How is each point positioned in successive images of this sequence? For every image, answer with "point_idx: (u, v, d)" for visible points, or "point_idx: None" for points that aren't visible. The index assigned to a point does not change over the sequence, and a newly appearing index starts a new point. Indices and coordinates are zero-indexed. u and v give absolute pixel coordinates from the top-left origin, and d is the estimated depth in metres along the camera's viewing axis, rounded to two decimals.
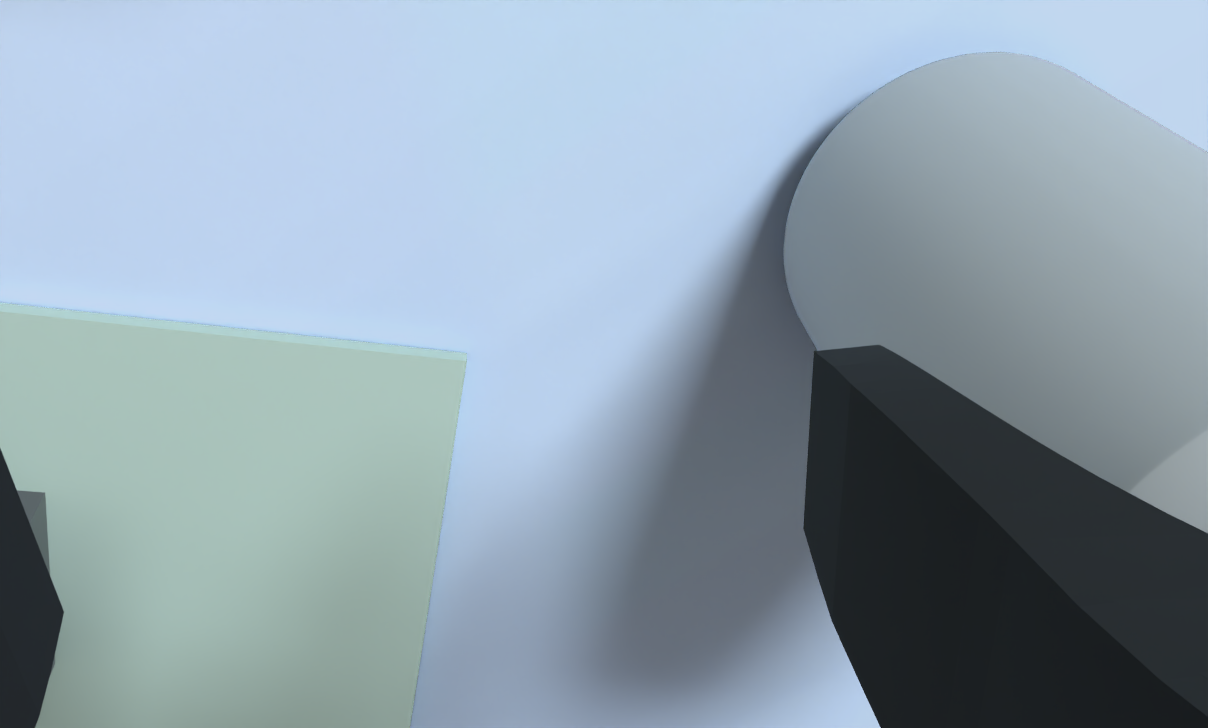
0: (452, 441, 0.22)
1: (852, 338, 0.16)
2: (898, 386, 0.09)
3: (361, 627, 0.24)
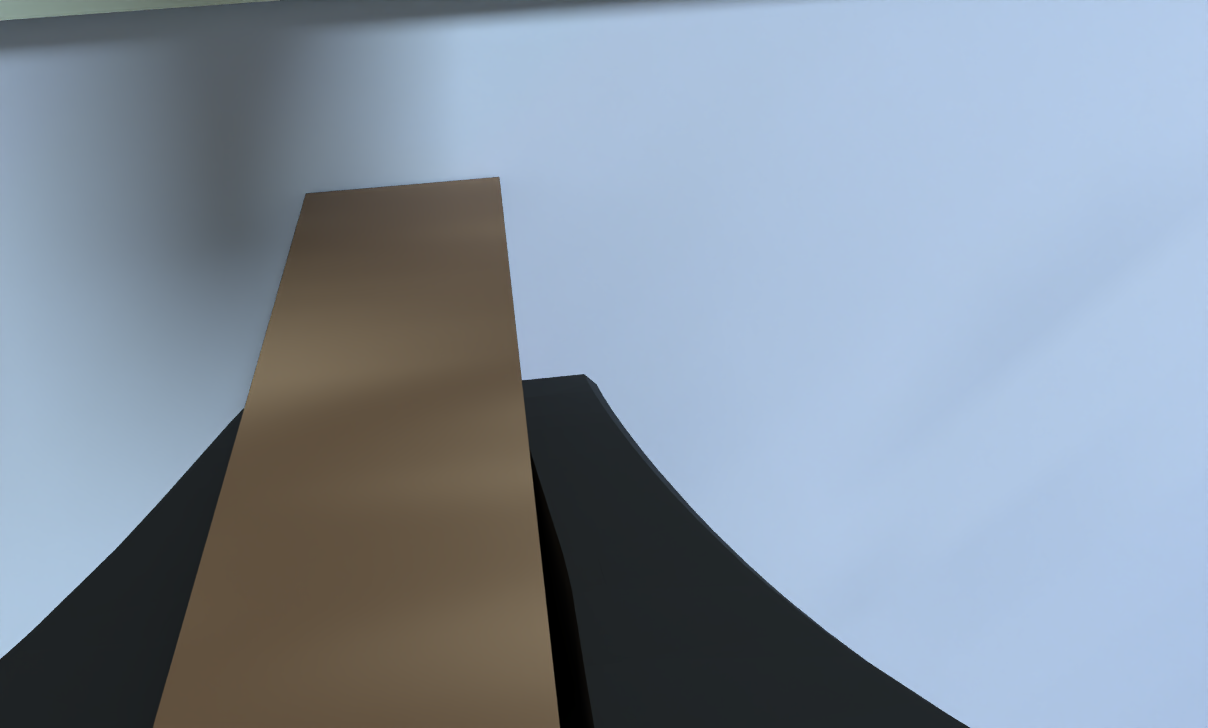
0: None
1: None
2: (564, 420, 0.09)
3: None
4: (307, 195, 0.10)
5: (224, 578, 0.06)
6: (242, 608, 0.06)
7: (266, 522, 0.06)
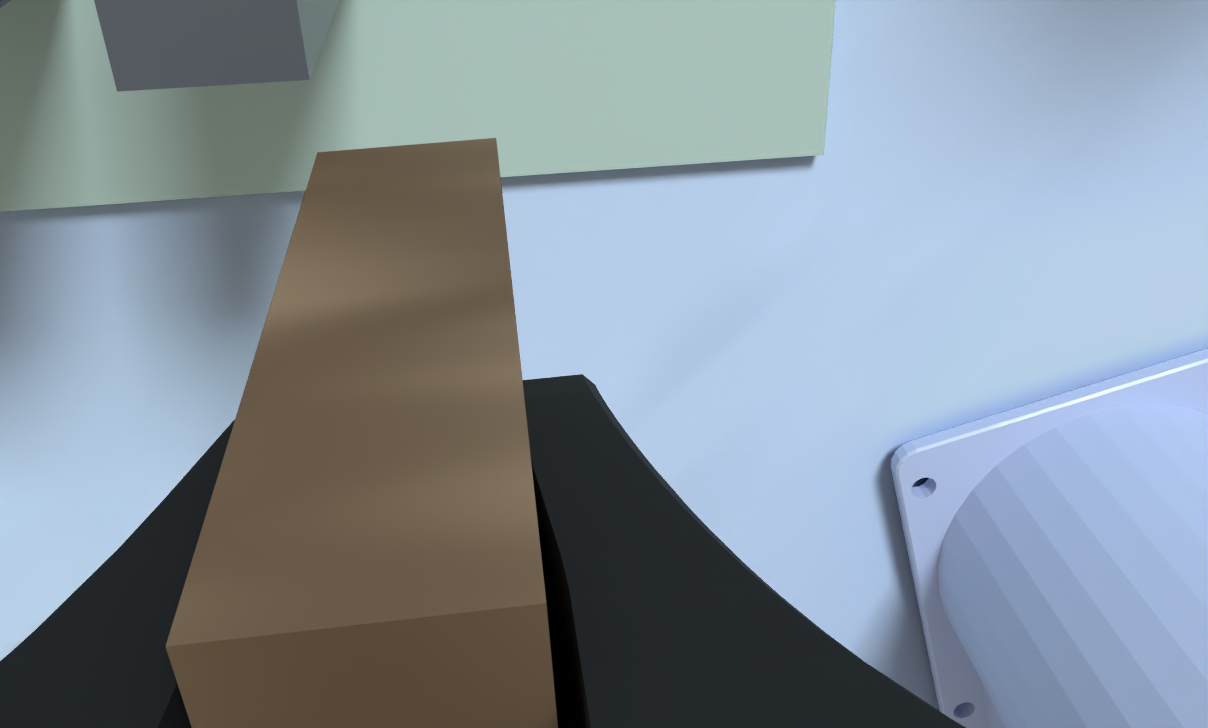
0: None
1: None
2: (562, 420, 0.09)
3: None
4: (319, 153, 0.11)
5: (250, 452, 0.07)
6: (267, 473, 0.06)
7: (286, 409, 0.07)
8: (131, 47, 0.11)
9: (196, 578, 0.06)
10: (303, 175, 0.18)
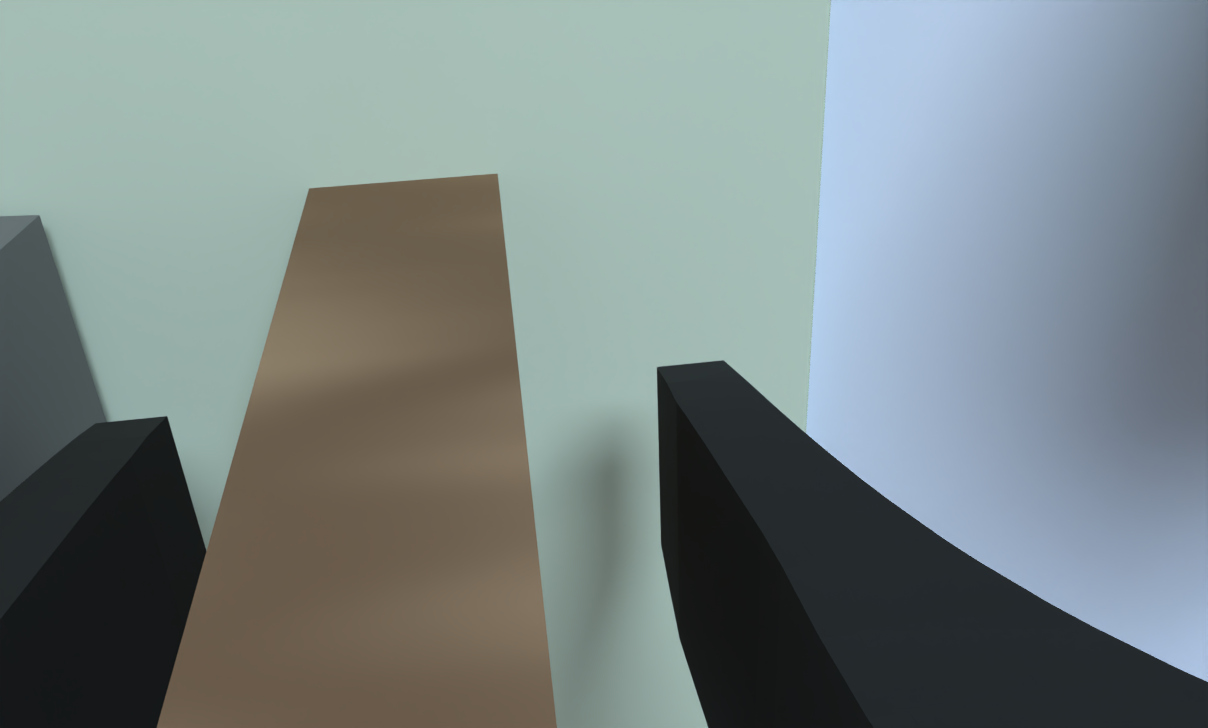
0: None
1: None
2: (722, 404, 0.09)
3: None
4: (310, 190, 0.11)
5: (234, 551, 0.06)
6: (251, 580, 0.06)
7: (273, 500, 0.07)
8: None
9: (171, 713, 0.05)
10: None
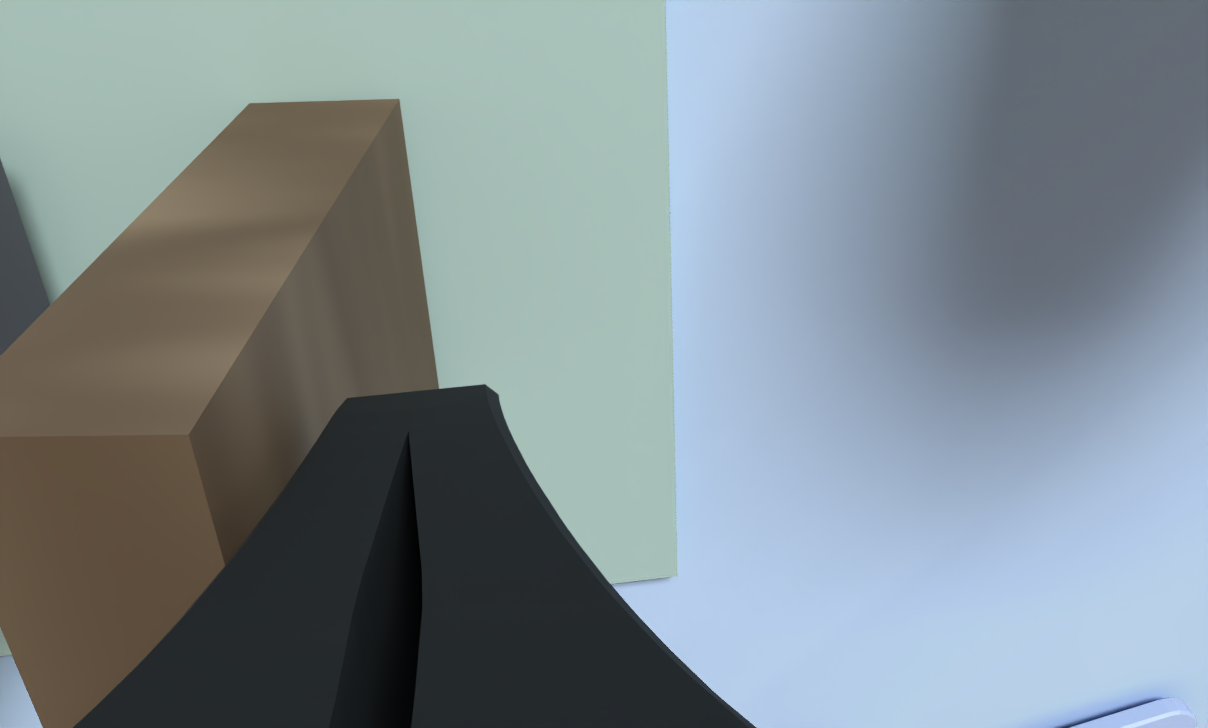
0: None
1: None
2: (452, 432, 0.09)
3: (573, 287, 0.15)
4: (249, 104, 0.13)
5: (55, 320, 0.09)
6: (57, 336, 0.09)
7: (98, 293, 0.09)
8: None
9: None
10: None
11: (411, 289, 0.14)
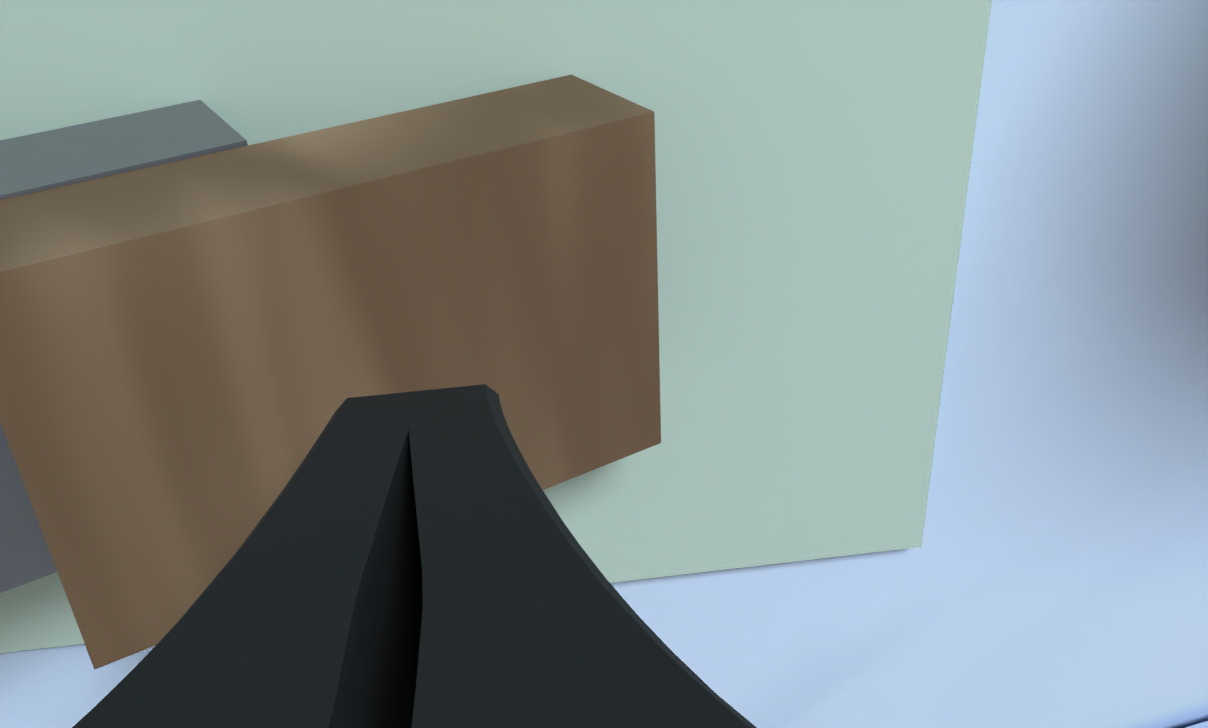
0: None
1: None
2: (452, 432, 0.09)
3: (865, 258, 0.15)
4: (567, 75, 0.14)
5: (112, 181, 0.11)
6: (86, 190, 0.11)
7: (159, 175, 0.11)
8: None
9: None
10: None
11: (609, 304, 0.13)
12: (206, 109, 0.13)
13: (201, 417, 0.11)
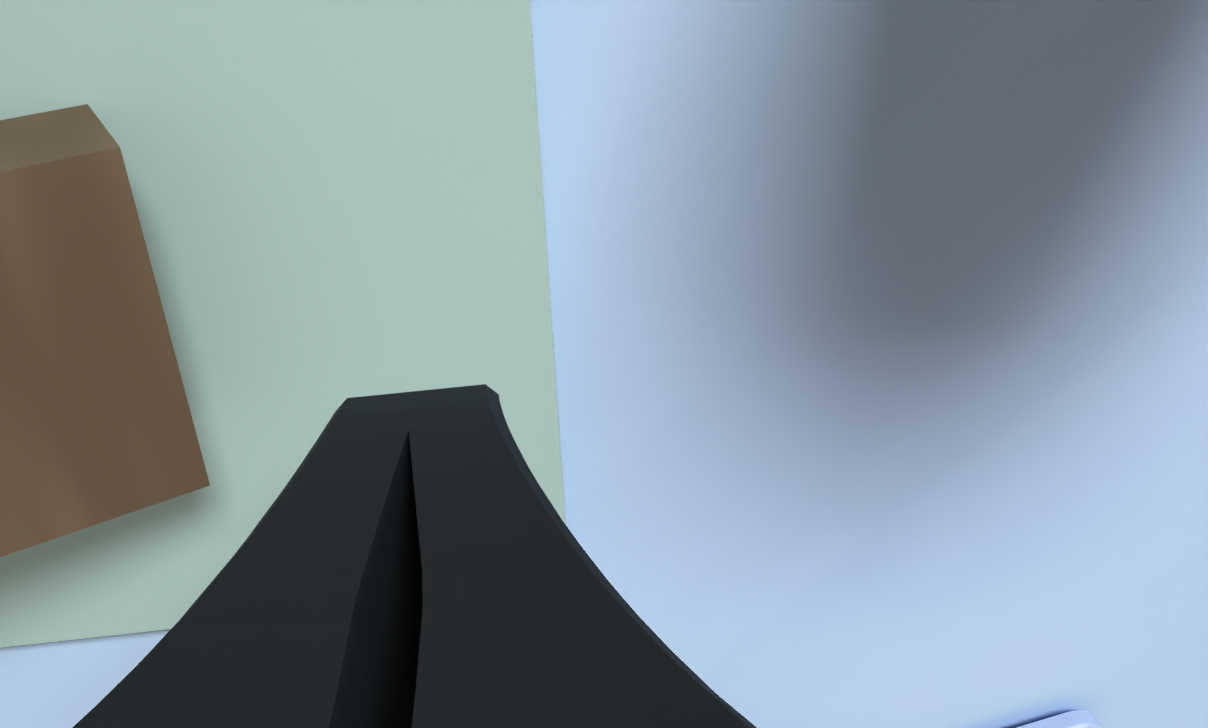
0: None
1: None
2: (452, 432, 0.09)
3: (449, 293, 0.15)
4: (81, 105, 0.13)
5: None
6: None
7: None
8: None
9: None
10: None
11: (106, 346, 0.13)
12: None
13: None
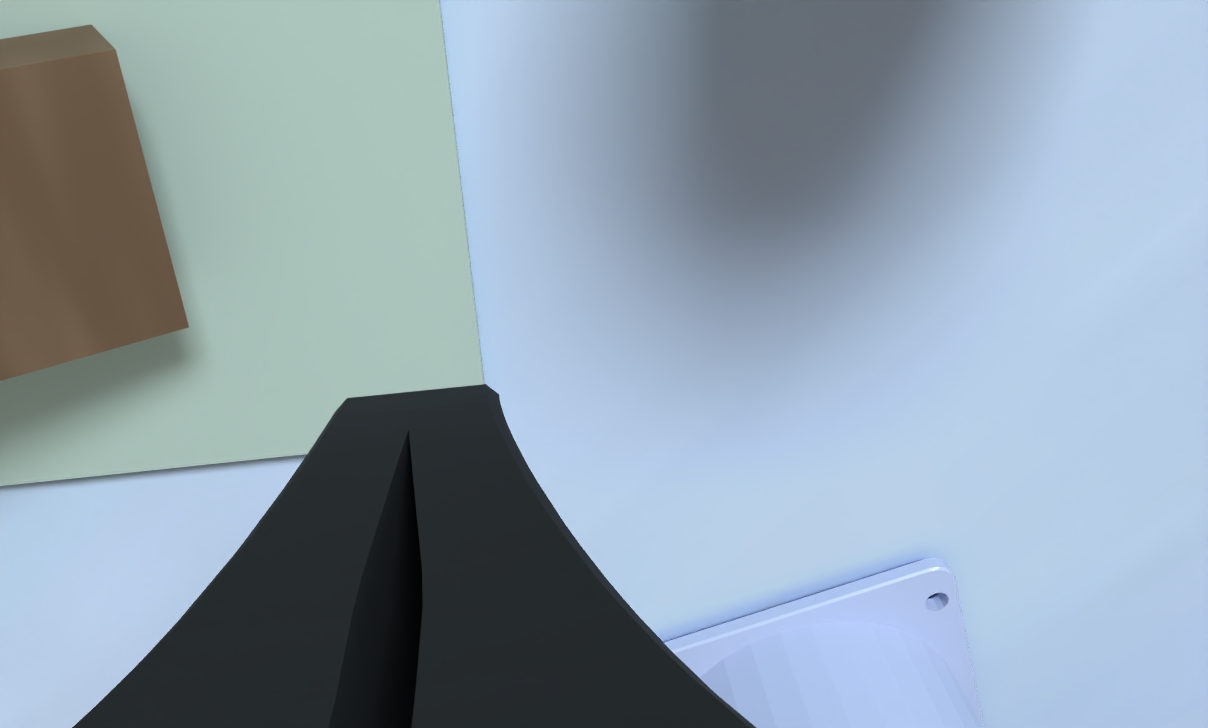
0: None
1: None
2: (452, 432, 0.09)
3: (379, 180, 0.19)
4: (86, 25, 0.17)
5: None
6: None
7: None
8: None
9: None
10: (8, 473, 0.21)
11: (106, 206, 0.16)
12: None
13: None
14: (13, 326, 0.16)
